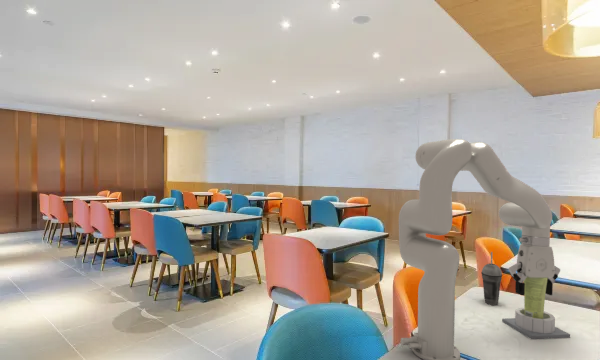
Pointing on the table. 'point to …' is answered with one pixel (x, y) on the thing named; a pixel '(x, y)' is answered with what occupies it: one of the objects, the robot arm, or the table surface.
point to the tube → (534, 297)
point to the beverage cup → (491, 283)
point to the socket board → (534, 334)
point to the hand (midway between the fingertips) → (533, 294)
